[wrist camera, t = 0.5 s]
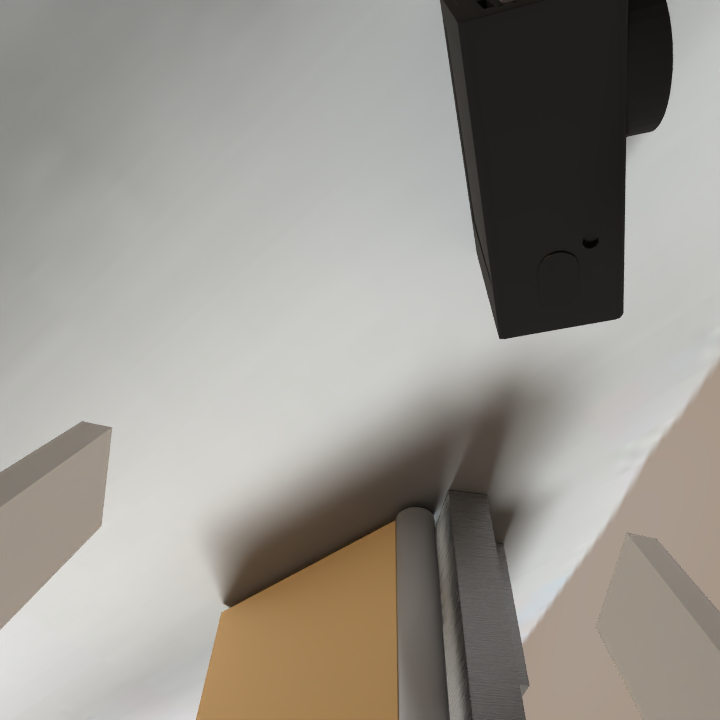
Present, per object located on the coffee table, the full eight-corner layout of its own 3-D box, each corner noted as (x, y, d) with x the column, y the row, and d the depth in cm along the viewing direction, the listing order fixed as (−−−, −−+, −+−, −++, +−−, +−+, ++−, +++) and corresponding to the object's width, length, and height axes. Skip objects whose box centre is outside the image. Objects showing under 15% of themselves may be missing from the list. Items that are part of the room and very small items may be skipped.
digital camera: (602, 229, 26) (661, 316, 20) (476, 255, 27) (500, 344, 21) (599, -51, 20) (682, -39, 14) (439, -7, 21) (457, 22, 15)
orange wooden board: (418, 501, 36) (431, 764, 25) (442, 521, 37) (465, 782, 26) (216, 609, 44) (159, 844, 33) (241, 623, 45) (192, 855, 34)
